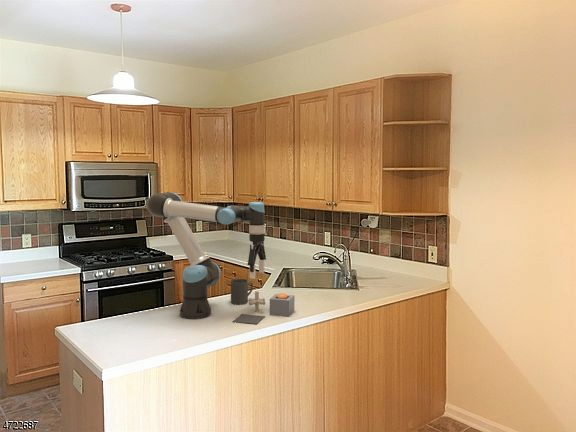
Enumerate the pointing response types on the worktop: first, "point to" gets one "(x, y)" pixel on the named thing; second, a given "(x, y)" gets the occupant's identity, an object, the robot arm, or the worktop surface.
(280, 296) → the plunger
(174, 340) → the worktop surface
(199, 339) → the worktop surface
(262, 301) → the beige toy jack
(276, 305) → the housing
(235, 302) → the mug
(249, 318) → the mat
